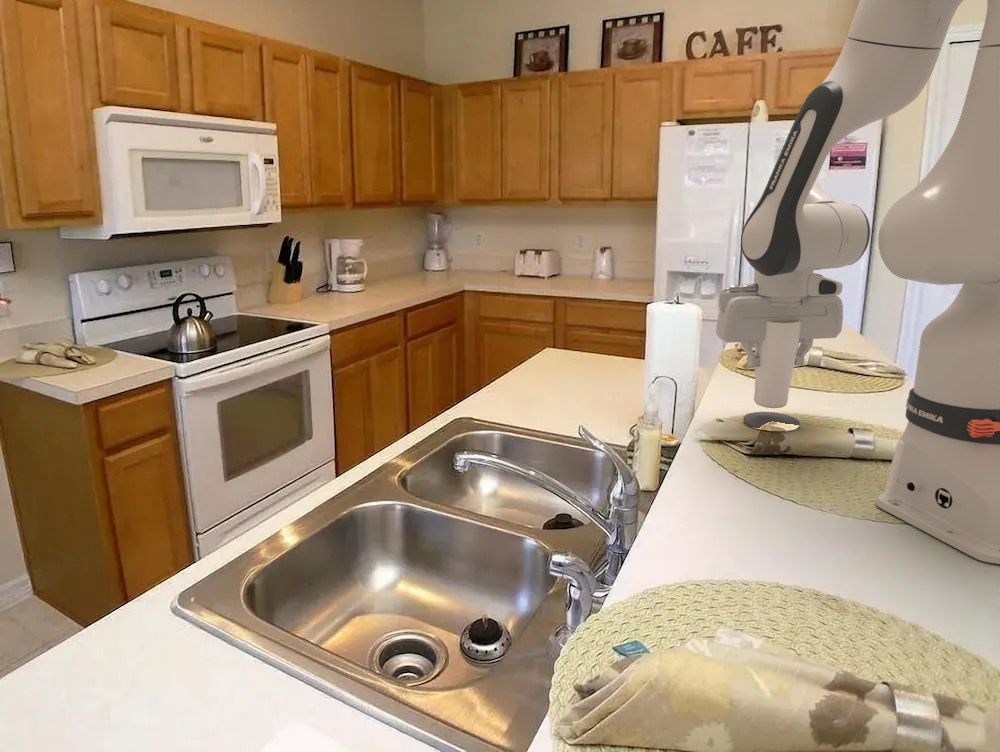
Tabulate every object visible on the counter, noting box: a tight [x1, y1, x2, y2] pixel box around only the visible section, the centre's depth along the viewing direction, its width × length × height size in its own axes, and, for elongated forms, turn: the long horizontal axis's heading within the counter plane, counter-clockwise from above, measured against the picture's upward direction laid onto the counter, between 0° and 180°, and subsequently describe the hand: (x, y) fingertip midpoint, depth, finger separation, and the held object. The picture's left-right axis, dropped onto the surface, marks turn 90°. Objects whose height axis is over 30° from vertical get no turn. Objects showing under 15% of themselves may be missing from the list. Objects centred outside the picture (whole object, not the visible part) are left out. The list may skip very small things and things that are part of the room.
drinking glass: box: [753, 320, 801, 409], centre depth 115 cm, size 7×7×15 cm
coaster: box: [743, 411, 801, 429], centre depth 118 cm, size 9×9×1 cm
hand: (775, 365), depth 115 cm, fingers closed on drinking glass, 6 cm apart
